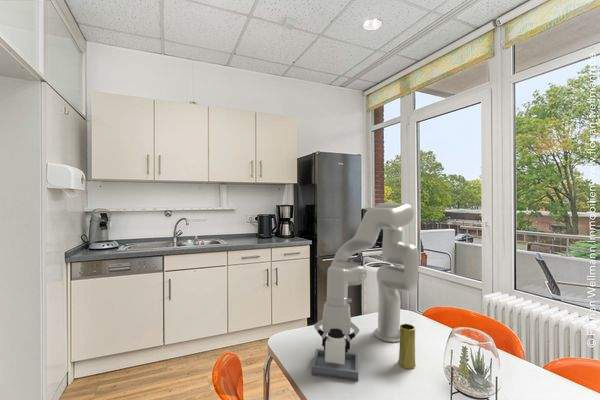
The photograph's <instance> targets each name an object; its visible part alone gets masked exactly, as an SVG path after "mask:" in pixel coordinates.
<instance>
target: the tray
mask: <svg viewBox="0 0 600 400" xmlns="http://www.w3.org/2000/svg"><path fill="white" fill-rule="evenodd" d="M359 372H360V371H359V353H357V352H356V353H354V352H348V353H346V361H345V365H343V364H335V363H328V362H325V350H324V349H321V348H316V349H315V352H314V356H313V360H312V364H311V376H316V377H322V378H323V377H324V378H329V379H337V380H338V379H339V380H345V381H355V382H359V375H360V374H359Z"/></svg>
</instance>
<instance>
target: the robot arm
mask: <svg viewBox="0 0 600 400" xmlns="http://www.w3.org/2000/svg"><path fill="white" fill-rule="evenodd" d="M414 215H415V212H414V209H413V206H412V205H410V204H408V203H396V202H380V203H376V204H375V206H374V207H371V208H368V209H367V210H366V211H365V213H364V214H363V217H362V220H361V221H360V223H359V226H358V228H357V230H356V231H355V234H354V236H353V237H352V238H350V239H349V240H348V241H346V242H344V244H342V245H341V246H340V247H339V248H338V250H337V251H336V253H335V254H334V256H333V259H332V261H331V263H330V266H329V267H328V268H327V275H326V278H327V279H326V301H325V302H324V304H323V305H324V306H323V314H322V318H321V320H319V321H318V322H316V323H315V324H314V325H313V327H314V329H315V331H316V332H317V333H318V335H319V336H320V337H321V339H322V342H321V346H322V347H323V350H325V342H326V338H327V334H328V333H329V332H330V329H340V330H342V334H345V336H346V353H349V350H351V341H352V340H353V339H354V338H356V336H357V335H358V334H359V333H360V329H359V327H357V326H356V325H355V324H354V323H353V322H352V321H351V319H352V317H351V306H350V303H352V302H353V301H352V298H351V297H349V286H359V285H362V284H363V283H364V282H365V281H366V280H367V277H368V276H367V273H368V272H367V270H366V268H365V267H364V266H362V265H360V264H357V263H352V262H348V260H349V259H350V257H352V256H353V255H355V254H357V253H360V252H363V251H366V250H369V249H372V248H373V247H375V246H376V243H377V240H378V238H379V235H380V233H381V230H382V236H383V237H382V244H381V247H382V248H381V255H382V256H381V257H382V260H383V261H385V262H387V263H390V264H395V266H394V265H389V264H384V265H381V266H379V267H378V268H377V271H376V281H377V289H378V290H377V291H378V297H377V298H378V300H377V301H378V306H377V307H378V310H377V311H378V312H377V313H378V314H377V328H375V329H374V332H373V334H374V336H375V337H376V338H377V339H379V340H381V341H384V342H388V343H397V342H399V343H400V325H401V295H400V292H399V291H402V292H406V293H413V292H415V291H416V289H417V286H418V281H419V280H418V279H419V267H420V266H419V265H420V253H419V252H420V251H419V249H418V248H417V247H416V245H414V244H411V243H405V242H404V241H403V240H404V238H403V237H404V236H403V235H404V232H403V228H402V227H404V226H406V225H408V224H409V223H411V222H412V221H413V219H414ZM396 265H402V266H403V268H402V267H399V266H396ZM320 327H322V328H320ZM351 330H353V331H351Z"/></svg>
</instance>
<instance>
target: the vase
mask: <svg viewBox="0 0 600 400" xmlns="http://www.w3.org/2000/svg"><path fill="white" fill-rule="evenodd" d="M398 350H399V352H398V353H399V354H398V355H399V356H398V361H397V363H398V365H399V366H401V367H402V368H404V369H407V370H413V369H415V368H416V327H415V326H414V325H412V324H410V323H400V341H399V349H398Z"/></svg>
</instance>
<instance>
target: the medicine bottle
mask: <svg viewBox="0 0 600 400" xmlns="http://www.w3.org/2000/svg"><path fill="white" fill-rule="evenodd" d="M326 336H327V338H326V342H325V362H328V363H335V364H343V365H345V361H346V336H345V334H342V330H340V329H330V332H329V333H327V335H326Z"/></svg>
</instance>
